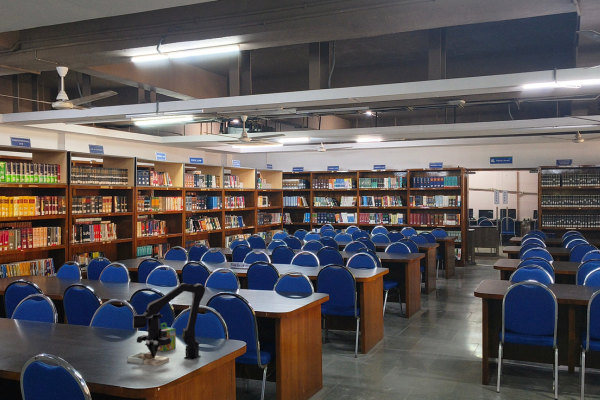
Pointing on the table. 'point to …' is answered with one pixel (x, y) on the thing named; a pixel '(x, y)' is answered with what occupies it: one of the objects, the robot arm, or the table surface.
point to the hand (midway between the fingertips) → (153, 356)
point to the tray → (135, 358)
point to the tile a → (148, 356)
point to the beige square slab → (156, 361)
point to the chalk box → (170, 334)
